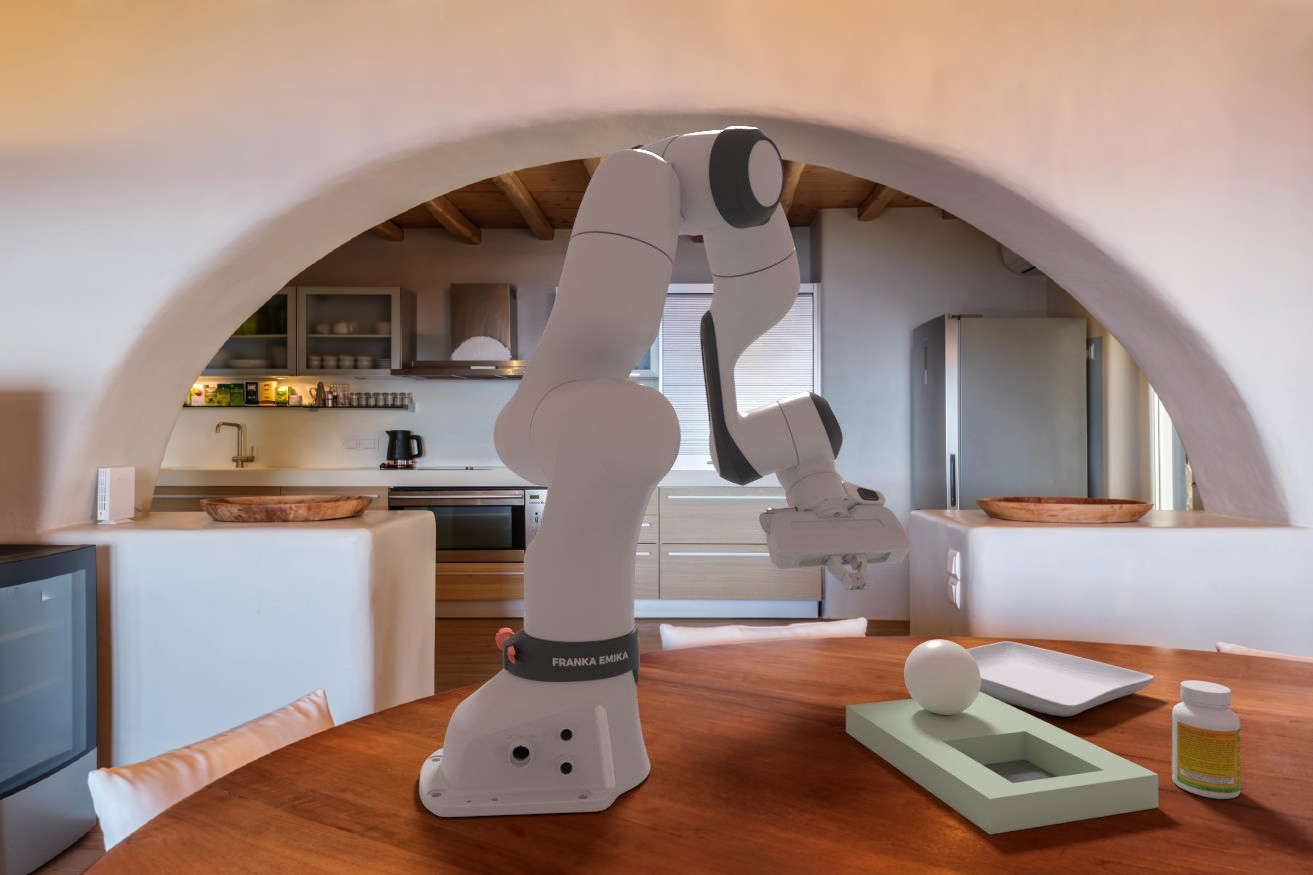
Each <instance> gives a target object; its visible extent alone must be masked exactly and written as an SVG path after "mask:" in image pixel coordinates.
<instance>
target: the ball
mask: <svg viewBox="0 0 1313 875" xmlns="http://www.w3.org/2000/svg"><path fill="white" fill-rule="evenodd" d="M903 667H904V670H903V677H904V684H905V687H906V690H907V692H908V694H909V695H910V697H911V699H914V700H915V701H916V703H918V704H919V705H920V706H921V707H923V708H924V709H926V710H928V711H930V712H932V713H935V714H940V715H953V714H957V713H960V712H962V711H964V710H966V709H967V708H968V707H970V706H971V705H972V704H973V702H974V701H975V700H976V698H977V696H978V694H979V691H980V686H981V675H980V671H979V668H978V665H977V663H976V661H975V660H974V658H973V657H972V655H971V654H970V653H969V652H968V651H967V650H966V648H965V647H963V646H962V645H960V644H958V643H956V642H953V641H951V640H949V639H947V640H946V639H942V638H941V639H940V638H939V639H938V638H937V639H936V638H935V639H931V640H927V641H925V642H922V643H920V644H918V645H917V646H916V647H914V648H913V649H912V651H910V653H909V655H908V657H906V661H905V663H904V666H903Z"/></svg>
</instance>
